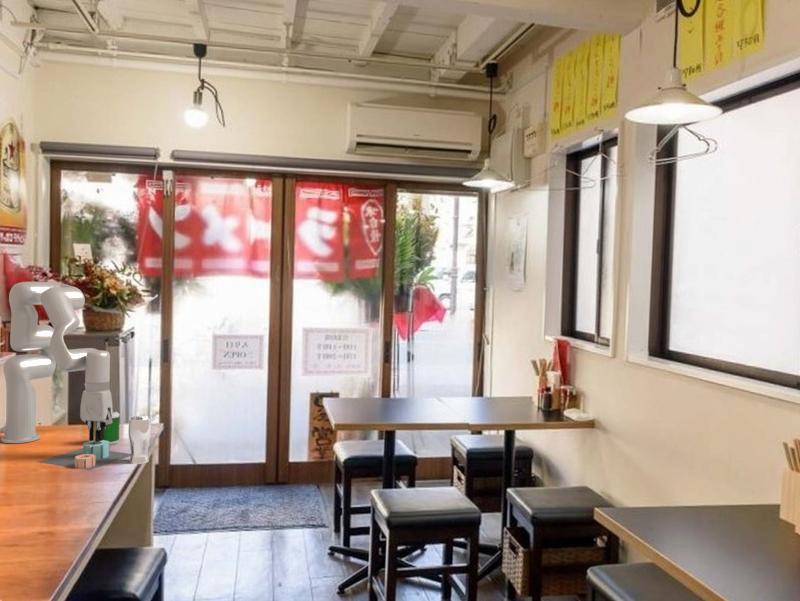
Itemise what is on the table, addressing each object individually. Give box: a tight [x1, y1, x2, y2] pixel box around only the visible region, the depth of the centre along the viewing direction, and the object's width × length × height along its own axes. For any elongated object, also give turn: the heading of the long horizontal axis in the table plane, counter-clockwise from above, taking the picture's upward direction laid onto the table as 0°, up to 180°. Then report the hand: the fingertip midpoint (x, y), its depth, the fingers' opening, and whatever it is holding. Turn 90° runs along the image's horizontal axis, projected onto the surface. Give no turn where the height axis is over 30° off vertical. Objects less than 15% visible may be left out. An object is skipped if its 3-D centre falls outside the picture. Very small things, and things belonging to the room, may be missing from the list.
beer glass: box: [128, 415, 152, 465], centre depth 215 cm, size 7×7×15 cm
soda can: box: [101, 410, 121, 446], centre depth 236 cm, size 8×8×12 cm
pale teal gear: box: [82, 440, 111, 459], centre depth 219 cm, size 8×8×4 cm
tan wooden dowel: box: [93, 421, 100, 444], centre depth 219 cm, size 2×2×12 cm
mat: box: [37, 447, 131, 471], centre depth 217 cm, size 22×20×1 cm
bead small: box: [75, 454, 96, 469], centre depth 208 cm, size 6×6×3 cm
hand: (96, 440), depth 219 cm, fingers closed on tan wooden dowel, 2 cm apart
